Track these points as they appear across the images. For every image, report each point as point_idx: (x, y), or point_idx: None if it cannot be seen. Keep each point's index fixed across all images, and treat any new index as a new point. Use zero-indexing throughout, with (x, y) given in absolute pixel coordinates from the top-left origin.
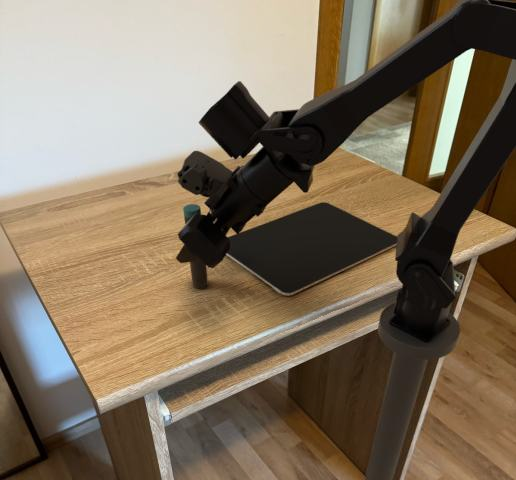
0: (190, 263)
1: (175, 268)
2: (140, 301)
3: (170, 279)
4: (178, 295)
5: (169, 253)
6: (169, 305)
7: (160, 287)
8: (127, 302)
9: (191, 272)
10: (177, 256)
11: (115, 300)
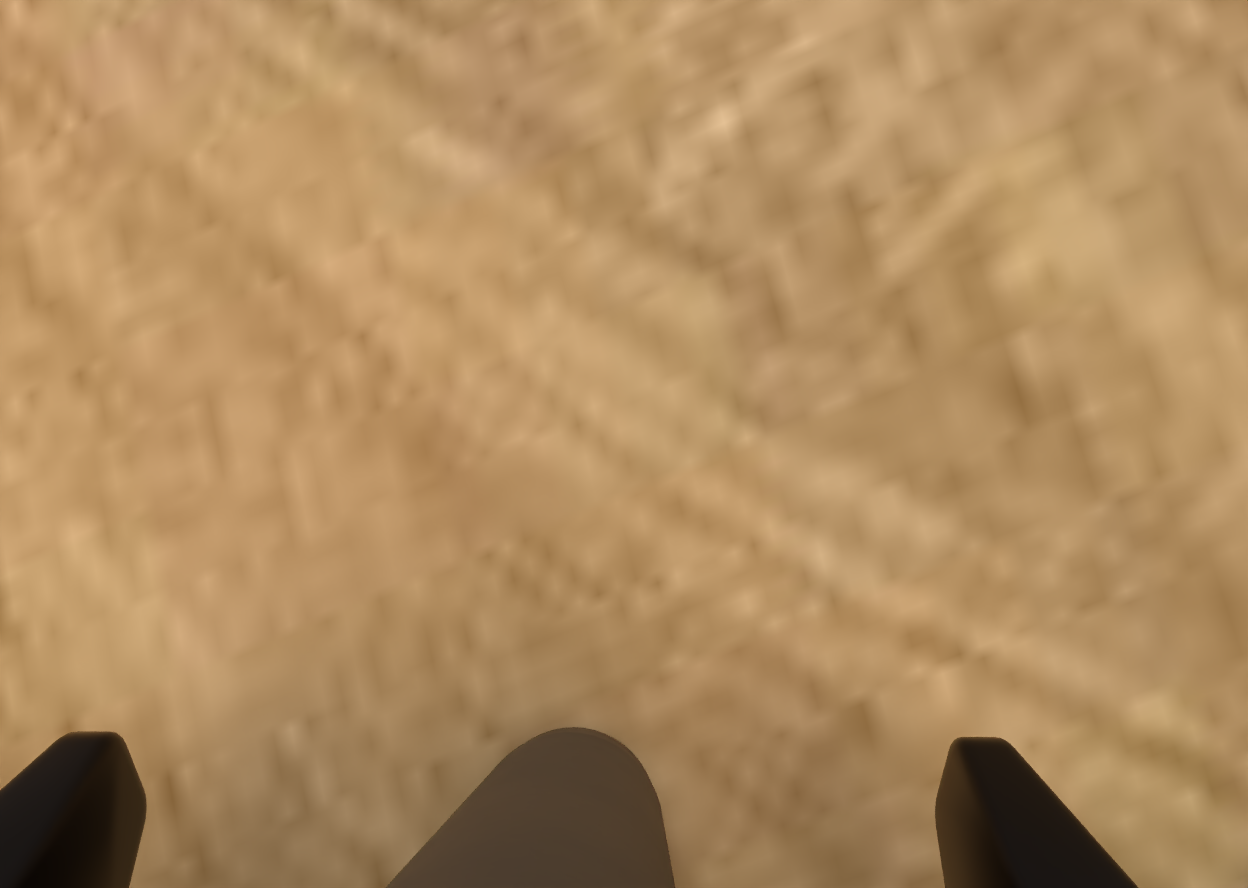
0: (470, 795)
1: (825, 404)
2: (154, 296)
3: (602, 436)
4: (332, 640)
5: (1102, 216)
6: (141, 616)
7: (433, 392)
8: (115, 181)
9: (492, 771)
10: (4, 793)
11: (126, 56)
